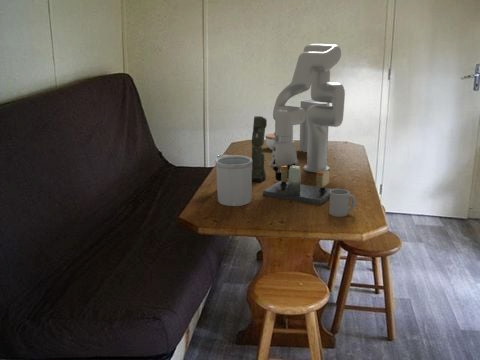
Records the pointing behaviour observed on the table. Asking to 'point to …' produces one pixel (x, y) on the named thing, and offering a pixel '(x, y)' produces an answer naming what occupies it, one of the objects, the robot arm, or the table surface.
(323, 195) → the level plate
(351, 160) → the table surface
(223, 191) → the utensil holder
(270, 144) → the lidded jar
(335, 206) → the cup
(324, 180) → the knob
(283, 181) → the knob
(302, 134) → the white upright slab
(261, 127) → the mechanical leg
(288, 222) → the table surface
